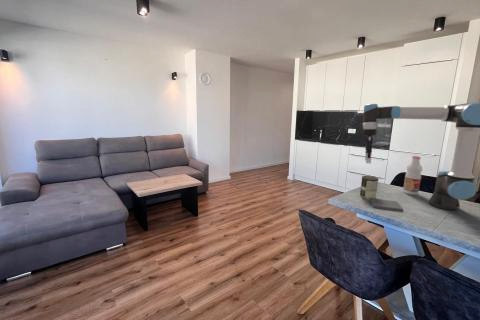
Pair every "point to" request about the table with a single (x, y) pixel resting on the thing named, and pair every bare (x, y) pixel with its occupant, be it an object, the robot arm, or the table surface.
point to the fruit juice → (413, 176)
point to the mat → (385, 204)
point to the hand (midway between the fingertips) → (367, 161)
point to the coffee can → (368, 187)
